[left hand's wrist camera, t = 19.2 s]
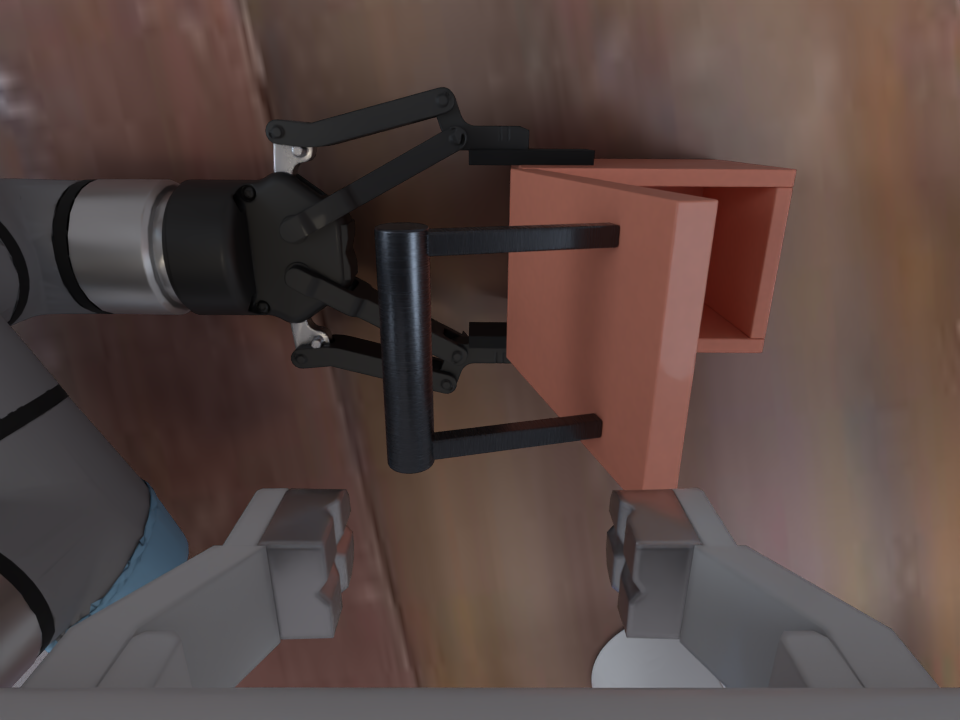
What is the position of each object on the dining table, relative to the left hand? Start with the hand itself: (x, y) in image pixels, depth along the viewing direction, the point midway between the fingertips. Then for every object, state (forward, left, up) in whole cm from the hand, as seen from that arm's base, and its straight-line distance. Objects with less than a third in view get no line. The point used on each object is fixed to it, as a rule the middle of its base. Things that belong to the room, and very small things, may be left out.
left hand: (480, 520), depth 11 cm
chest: (-8, -3, -32) cm, 33 cm away
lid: (-4, -2, -14) cm, 15 cm away
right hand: (-6, -2, -25) cm, 26 cm away
